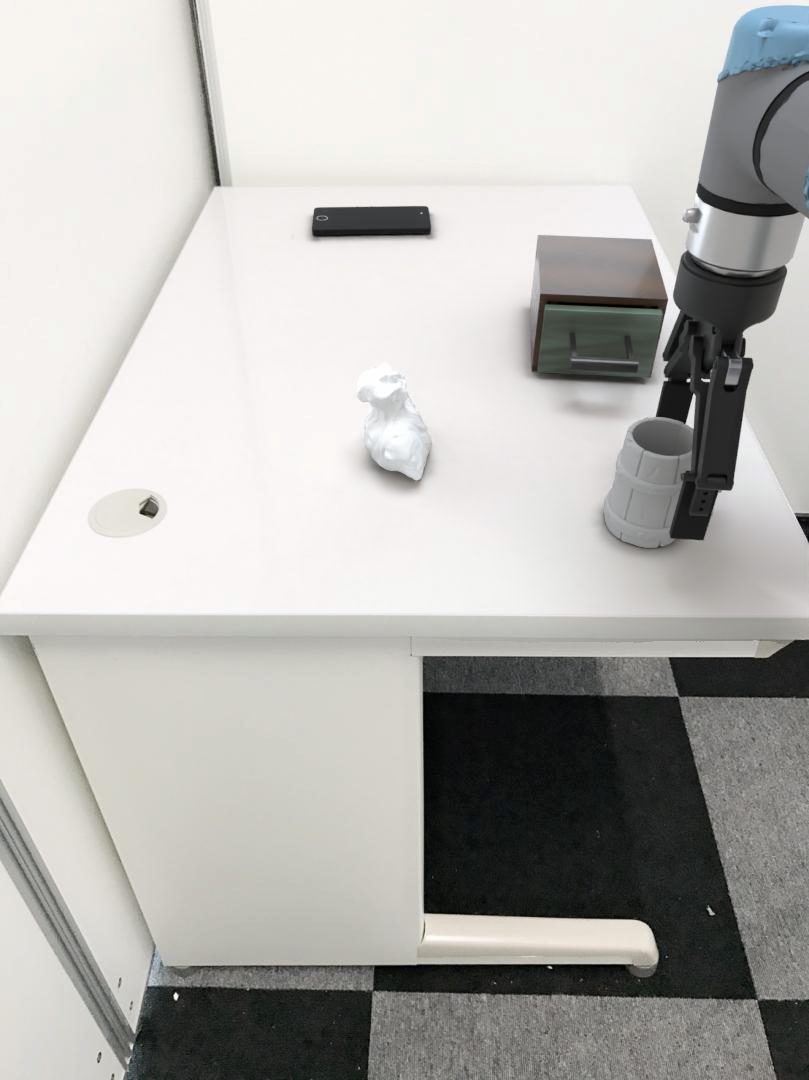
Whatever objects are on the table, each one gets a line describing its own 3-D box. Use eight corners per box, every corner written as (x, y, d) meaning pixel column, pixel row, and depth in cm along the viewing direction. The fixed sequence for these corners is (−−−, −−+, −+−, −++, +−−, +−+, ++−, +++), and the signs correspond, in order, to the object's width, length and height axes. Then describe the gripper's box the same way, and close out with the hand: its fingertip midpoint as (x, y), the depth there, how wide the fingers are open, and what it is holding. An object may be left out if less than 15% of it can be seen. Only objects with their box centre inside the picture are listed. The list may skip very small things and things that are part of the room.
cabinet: (650, 377, 99) (668, 299, 92) (531, 371, 100) (540, 293, 93) (636, 312, 110) (651, 239, 104) (529, 308, 111) (537, 234, 105)
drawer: (655, 411, 92) (671, 346, 86) (538, 404, 93) (546, 340, 87) (635, 316, 107) (647, 256, 102) (535, 312, 108) (542, 252, 103)
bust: (389, 440, 93) (321, 373, 87) (445, 401, 91) (379, 329, 84) (400, 511, 84) (325, 442, 78) (462, 470, 82) (389, 395, 75)
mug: (587, 505, 82) (607, 399, 74) (696, 483, 84) (727, 378, 76) (624, 558, 76) (650, 449, 68) (739, 533, 79) (778, 425, 71)
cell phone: (314, 213, 134) (314, 207, 134) (428, 211, 135) (428, 205, 134) (311, 236, 128) (311, 229, 127) (431, 234, 128) (431, 228, 128)
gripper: (661, 194, 71) (619, 408, 86) (711, 336, 53) (648, 580, 67) (752, 196, 71) (695, 412, 85) (836, 342, 52) (746, 587, 66)
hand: (674, 487), depth 76 cm, fingers open, 13 cm apart
